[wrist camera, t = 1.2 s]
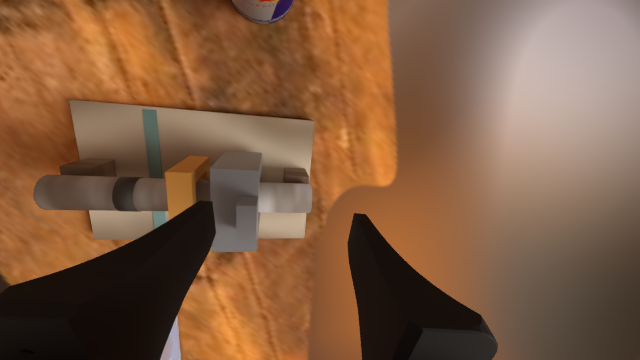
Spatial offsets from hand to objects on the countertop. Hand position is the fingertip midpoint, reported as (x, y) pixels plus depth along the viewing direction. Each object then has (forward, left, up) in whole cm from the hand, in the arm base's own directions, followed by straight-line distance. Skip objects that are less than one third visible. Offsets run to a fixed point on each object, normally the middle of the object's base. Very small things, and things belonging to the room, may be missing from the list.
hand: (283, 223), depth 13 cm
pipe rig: (-1, +7, -12) cm, 14 cm away
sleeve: (-1, +3, -10) cm, 11 cm away
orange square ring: (-1, +7, -10) cm, 12 cm away
